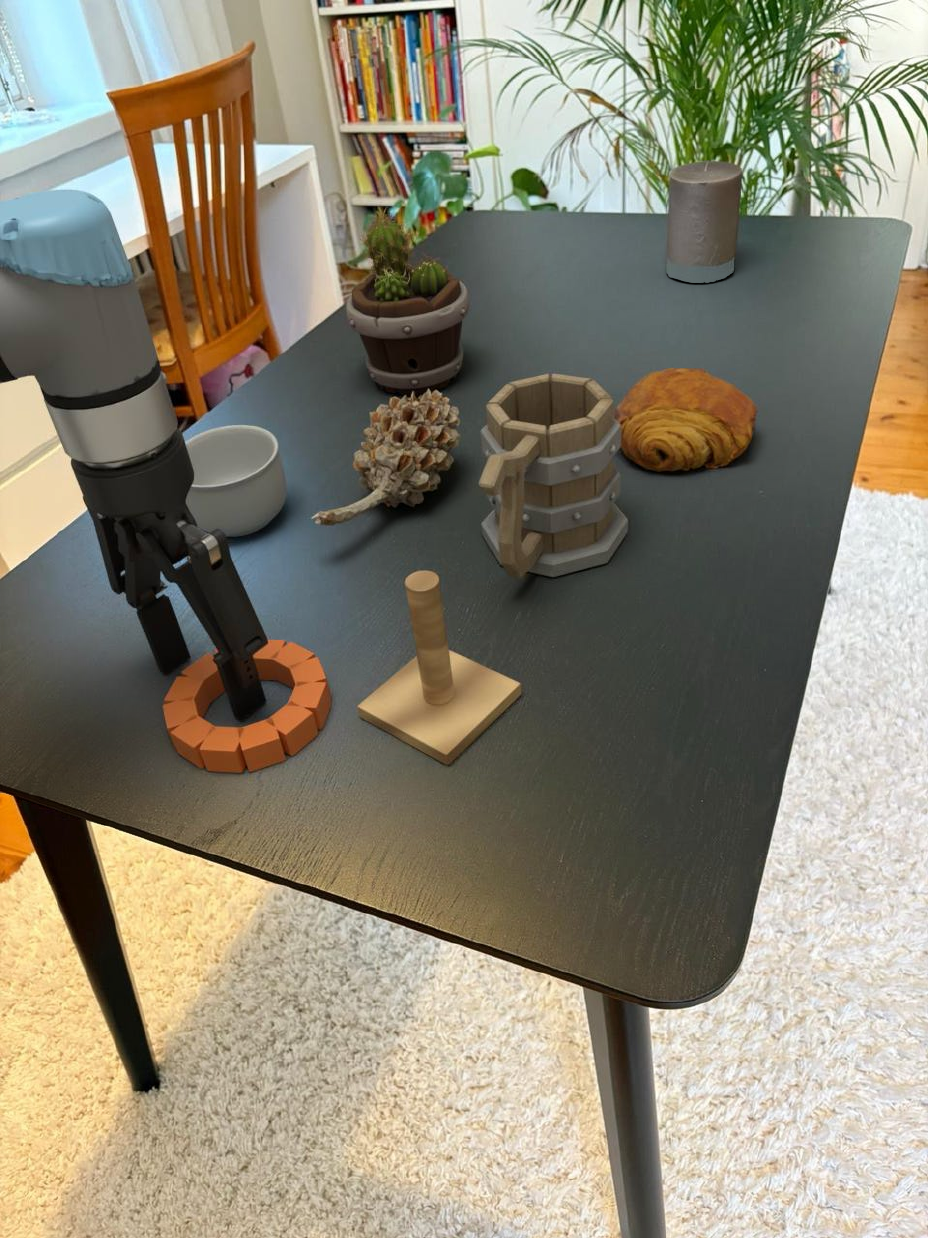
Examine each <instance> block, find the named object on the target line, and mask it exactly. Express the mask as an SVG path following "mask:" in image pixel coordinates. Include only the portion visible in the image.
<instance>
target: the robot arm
mask: <svg viewBox="0 0 928 1238" xmlns="http://www.w3.org/2000/svg"><path fill="white" fill-rule="evenodd" d="M114 220H115V219H114V217H113V215H112V212H111V211H110V209H109V208H108V206H107V205H106V204H105V203H104V201H102V200H101V199H100V198H99V197H97V196H96V195H94V194H92V193H90V192H87V191H83V190H79V189H78V190H77V189H51V190H42V191H35V192H31V193H26V194H22V195H21V196H20V197H16V198H13V199H6V200H2V201H0V384H3V383H8V382H13V381H17V380H18V379H21V378H22V379H23V378H27V377H34V378H35V380H36V383H38V385H39V388H40V392H41V394H42V397H43V402H44V404H45V407H46V409H47V412H48V414H49V417H50V419H51V421H52V424H53V427H54V429H55V431H56V434H57V436H58V439H59V442H60V444H61V446H62V449H63V451H64V454H66V455H67V456H68V457H69V458H70V467H71V470H72V471H73V474H74V476H75V479H76V482H77V484H78V486H79V489H80V491H81V494H82V500H83V503H84V505H85V507H86V509H87V512H88V513H89V515H90V518H91V519H92V522H93V527H94V530H95V533H96V534H95V535H96V537H97V541H98V545H99V548H100V552H101V556H102V560H103V563H104V567H105V571H106V576H107V578H108V582H109V585H110V588H111V590H112V591H113V593H114V594H116V595H118V596H119V595H121V594H123V593H124V594H125V599H126V602H127V604H128V605H129V606H130V607H131V608H133V609H135V610H136V611H135V612H136V615H137V618H138V620H139V623H140V625H141V628H142V630H143V633H144V636H145V639H146V641H147V643H148V645H149V648H150V650H151V654H152V656H153V658H154V661H155V663H156V666H157V668H158V671H159V673H161V674H162V675H164V676H168V675H169V674H170V673H172V672H173V671H174V670H175V669H177V668H178V667H179V666H181V665H182V664H184V663H185V662H186V661H188V660H189V659H191V654H190V651H189V647H188V645H187V643H186V640H185V637H184V635H183V632H182V629H181V626H180V623H179V621H178V617H177V614H176V612H175V610H174V607H173V605H172V602H171V599H170V596H167V595H166V594H165V593H163V594H161V595H160V596H157V595H158V594H160V593H161V592H163V591H164V590H166V589H167V588H168V585H166V583H165V582H164V581H163V580H162V579H161V574H162V575H163V577H164V579H165V580H166V581H167V582H168V583H172V584H176V585H177V587H178V589H179V590H180V592H181V594H182V595H183V597H184V598H185V600H186V602H187V603H188V605H189V607H190V608H191V609H192V612H193V613H194V615H195V616H196V618H197V619H198V621H199V623H200V624H201V626H202V627H203V629H204V631H205V632H206V634H207V636H208V638H209V639H210V641H211V642H212V644H213V646H214V647H215V649H217V650H218V652H217V653H216V654H215V653H214V654H212V655H213V657H214V659H213V662H214V663H215V664H216V665H217V668H218V671H219V674H220V677H221V680H222V683H223V686H224V689H225V694H226V697H227V700H228V703H229V706H230V709H231V711H232V714H233V716H234V719H236V720H238V721H239V722H242V721H243V720H245V719H246V718H247V717H249V716H250V715H251V714H252V713H254V711H256V710H258V709H259V708H260V707H262V705H264V704H265V703H266V702H267V698H266V695H265V692H264V689H263V685H262V682H261V680H260V679H259V674H258V670H257V667H256V664H255V661H254V658H253V655H254V654H255V653H256V652H258V651H259V650H260V649H262V648H263V647H264V646H266V645H267V644H268V637H267V635H266V632H265V630H264V628H263V625H262V624H261V621H260V619H259V617H258V614H257V613H256V610H255V608H254V606H253V603H252V602H251V599H250V597H249V595H248V592H247V590H246V588H245V585H244V583H243V581H242V578H241V576H240V574H239V572H238V570H237V568H236V565H235V564H234V561H233V558H232V554H231V550H230V546H229V541H228V536H226V535H225V534H224V532H223V531H222V530H220V529H218V528H217V529H215V530H213V531H212V532H210V533H209V532H206V531H204V530H202V529H200V528H199V527H197V523H196V520H195V518H194V517H193V515H192V514H191V512H190V510H189V508H188V506H187V505H186V498H187V495H188V492H189V490H190V488H191V486H192V484H193V481H194V470H193V466H192V463H191V460H190V457H189V454H188V450H187V447H186V444H185V442H186V441H185V437H184V435H183V433H182V431H181V430H180V429H179V428H178V425H179V423H178V418H177V414H176V412H175V409H174V406H173V405H174V404H173V403H172V399H171V396H170V392H169V389H168V387H167V381H168V379H167V375H166V374H165V373H164V372H163V371H162V366H161V363H160V360H159V357H158V353H157V350H156V346H155V343H154V340H153V336H152V332H151V330H150V325H149V322H148V319H147V316H146V312H145V309H144V306H143V302H142V298H141V295H140V292H139V289H138V285H137V282H136V278H135V274H134V271H133V269H132V266H131V262H130V261H129V259H128V256H127V254H126V251H125V248H124V246H123V243H122V240H121V237H120V234H119V231H118V228H117V226H116V223H115V221H114ZM184 559H186V561H185V562H183V563H182V564H180V565H178V566H177V567H175V566H174V565H176V564H178V563H180V562H181V561H182V560H184ZM122 572H124V573H122Z"/></svg>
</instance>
